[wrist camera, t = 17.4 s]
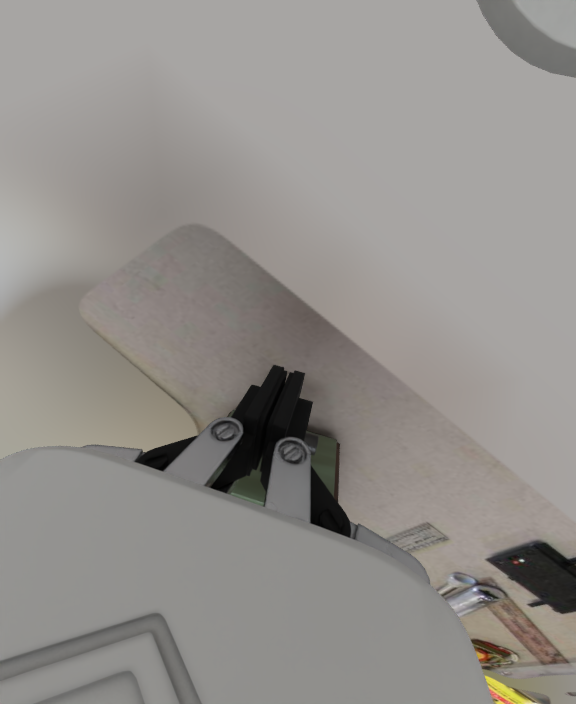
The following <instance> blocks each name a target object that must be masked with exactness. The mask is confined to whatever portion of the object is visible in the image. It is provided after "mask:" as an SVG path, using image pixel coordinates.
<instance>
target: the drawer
mask: <svg viewBox="0 0 576 704" xmlns="http://www.w3.org/2000/svg"><path fill="white" fill-rule="evenodd" d="M234 411H235V410H233V411H232V412H231V414H230V415H229V417H231V416H232V414H233V413H234ZM304 442H305V443H306V444H307V445H308V447H309V449H310V453H311V466H312V467H313V469H314V470H315V471H316V473H317V474H318V476H319V477H320V478H321V480H322V481H323V483H324V484H325V485H326V487H327V488H328V490H329V491H330V492H331V494H332V495H333V497H334V483H335V463H336V444H337V440H335V439H332V438H329V437H325V436H322V435H318V434H315V433H311V432H308V431H306V434H305V439H304ZM261 461H262V458H261ZM261 461H260V463H259V466H258V468H257V470H253V469H252V472H251V474H250V476H247V475H246V476H245V477H243V478H241V479H238V482H237V485H236V486H235V488H234V490H233V491H232V493H231V494H230V495H232V496H234V497H237V498H240V499H243V500H246V501H249V502H251V503H254V504H257V505H260V506H263V504H264V498H265V493H266V492H265V490H264V488H263V486H262V484H261V482H260V479H261V473H262V472H260V467H261Z"/></svg>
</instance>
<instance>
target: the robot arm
mask: <svg viewBox="0 0 576 704" xmlns="http://www.w3.org/2000/svg"><path fill="white" fill-rule="evenodd" d="M286 376H287V371H284V367H280V366H276V365H273V367H272V368H271V370H270V372H269V374H268V375H267V377H266V379H265V381H264V382H263V384H262V386H261V387H259V386H255V385H251V387H250V388H249V390H248V391H247V393H246V394H245V396H244V397H243V399H242V400H241V402H240V404H239V405H238V407H237V408H236V410H235V411H234V413H233V414H232V416H231V417H223V418H218V419H216V420H214V421H213V422H212V423H210V424H209V425H208V426H207V427H206V428H205V429H204V430H203V431H202V432H201V433H200V434H199V435H198V436H194V437H191V438H188V439H184V440H181V441H178V442H175V443H171V444H168V445H165V446H161V447H158V448H155V449H152V450H150V451H148V452H143V451H142V449H134V448H124V447H114V446H104V445H87V446H83V447H70V446H48V447H38V448H31V449H26V450H23V451H20V452H16V453H14V454H11V455H9V456H7V457H5V458H3V459H1V460H0V704H493V700H492V697H491V694H490V691H489V688H488V685H487V682H486V679H485V676H484V674H483V671H482V668H481V665H480V662H479V660H478V657H477V655H476V652H475V650H474V647H473V645H472V643H471V640H470V638H469V636H468V634H467V632H466V630H465V628H464V626H463V624H462V622H461V621H460V619H459V617H458V616H457V614H456V613H455V611H454V610H453V609H452V607H451V606H450V605H449V604H448V603H447V601H446V600H445V599H444V598H443V597H442V596H441V595H440V594H439V593H438V592H437V591H436V590H435V589H434V588H433V587H432V586H431V585H430V580H429V577H428V575H427V573H426V570H425V568H424V567H423V566H422V565H421V563H420V562H419V561H418V560H417V559H416V558H415V557H413V556H412V555H411V554H409V553H408V552H406V551H404V550H403V549H401V548H399V547H398V546H396V545H394V544H393V543H391V542H389V541H388V540H386V539H384V538H382V537H381V536H379V535H377V534H376V533H374V532H372V531H371V530H369V529H367V528H366V527H364V526H362V525H361V524H358V525H355V524H354V523H352V522H350V521H349V519H348V517H347V515H346V513H345V512H344V511H343V509H342V508H341V506H340V505H339V504H338V502H337V501H336V499H335V498H334V497H333V495H332V494H331V492H330V491H329V490H328V488H327V487H326V485H325V484H324V483H323V481H322V480H321V478H320V477H319V476H318V474H317V473H316V471H315V470H314V469H313V467H312V466H311V453H310V449H309V447H308V445H307V444H306V443H305V442H304V439H305V434H306V430H307V426H308V421H309V417H310V413H311V408H312V404H313V402H311V401H308V400H304V399H301V398H299V397H300V393H301V389H302V385H303V380H304V376H305V373H302V372H299V371H294V373H292V372H290V373H289V376H288V378H287V380H286ZM285 381H286V383H285ZM261 458H262V461H261ZM260 461H261V467H260V472H262V473H261V479H260V482H261V484H262V486H263V488H264V490H265V492H266V493H265V498H264V504H263V506H260V505H257V504H254V503H251V502H249V501H246V500H243V499H240V498H237V497H234V496H232V495H230V494H231V493H232V491H233V490H234V488H235V486H236V485H237V482H238V479H241V478H243V477H245V476H246V475H247V476H250V474H251V472H252V469H253V470H257V468H258V466H259V463H260Z"/></svg>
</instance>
